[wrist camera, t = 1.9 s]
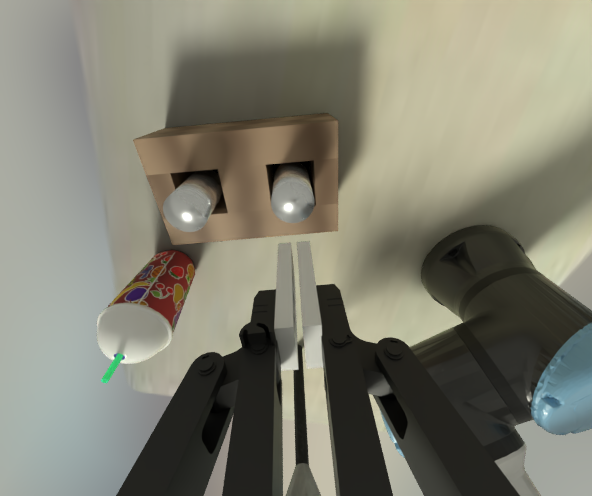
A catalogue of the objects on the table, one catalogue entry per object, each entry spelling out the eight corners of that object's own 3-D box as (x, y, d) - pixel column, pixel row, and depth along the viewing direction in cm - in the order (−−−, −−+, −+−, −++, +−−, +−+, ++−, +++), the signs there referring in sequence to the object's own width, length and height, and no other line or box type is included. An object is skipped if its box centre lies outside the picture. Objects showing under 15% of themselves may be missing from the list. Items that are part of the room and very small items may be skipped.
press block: (327, 113, 32) (338, 120, 26) (328, 205, 39) (337, 230, 32) (164, 128, 33) (132, 139, 26) (192, 217, 39) (172, 245, 32)
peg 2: (307, 159, 30) (313, 180, 24) (309, 193, 32) (315, 221, 26) (272, 162, 30) (268, 184, 24) (276, 196, 32) (273, 224, 26)
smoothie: (145, 238, 41) (44, 350, 24) (201, 245, 42) (143, 357, 25) (151, 281, 45) (70, 401, 28) (202, 287, 46) (153, 406, 29)
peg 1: (219, 167, 30) (201, 190, 24) (227, 200, 32) (212, 230, 26) (184, 170, 30) (156, 194, 24) (194, 203, 32) (171, 233, 26)
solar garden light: (269, 325, 51) (253, 564, 26) (332, 329, 52) (375, 562, 27) (265, 365, 58) (249, 588, 32) (321, 368, 59) (348, 586, 33)
